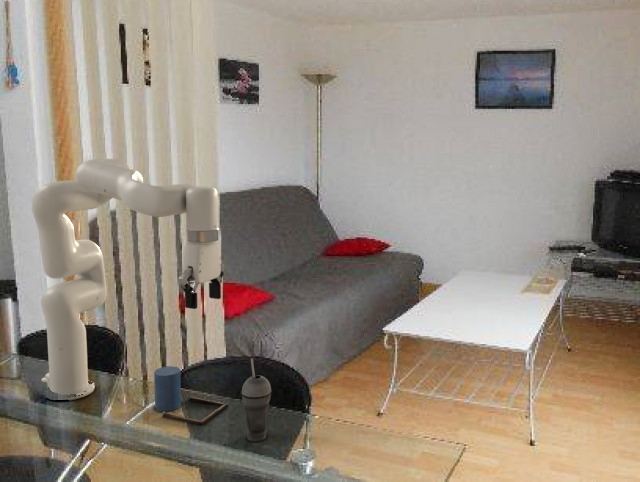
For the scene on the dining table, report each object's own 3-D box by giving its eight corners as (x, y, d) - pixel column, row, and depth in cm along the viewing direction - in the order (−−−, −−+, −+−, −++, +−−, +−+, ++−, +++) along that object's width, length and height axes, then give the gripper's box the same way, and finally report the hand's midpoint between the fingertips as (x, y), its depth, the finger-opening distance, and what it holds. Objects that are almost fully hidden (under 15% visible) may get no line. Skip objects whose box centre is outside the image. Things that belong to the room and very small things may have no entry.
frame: (162, 417, 158) (162, 414, 157) (191, 399, 169) (191, 396, 169) (201, 425, 154) (201, 422, 154) (228, 406, 165) (228, 403, 165)
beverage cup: (264, 445, 145) (264, 366, 142) (236, 442, 146) (235, 362, 143) (276, 431, 152) (276, 355, 149) (249, 428, 153) (248, 352, 150)
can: (149, 409, 162) (148, 373, 161) (166, 399, 168) (165, 364, 167) (170, 413, 160) (169, 377, 159) (186, 403, 166) (185, 368, 165)
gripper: (210, 230, 160) (211, 293, 162) (166, 240, 143) (168, 310, 146) (235, 232, 157) (235, 296, 160) (193, 243, 141) (194, 314, 143)
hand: (203, 303), depth 153 cm, fingers open, 9 cm apart
